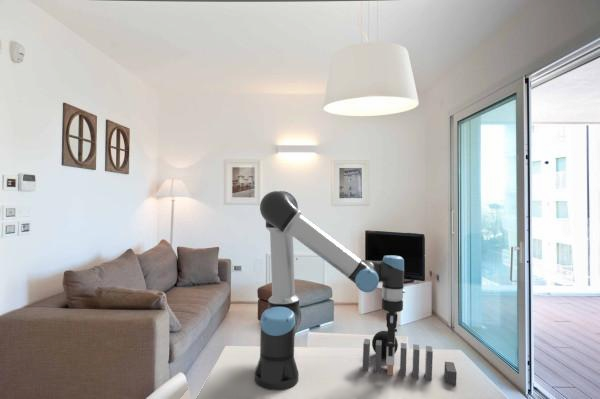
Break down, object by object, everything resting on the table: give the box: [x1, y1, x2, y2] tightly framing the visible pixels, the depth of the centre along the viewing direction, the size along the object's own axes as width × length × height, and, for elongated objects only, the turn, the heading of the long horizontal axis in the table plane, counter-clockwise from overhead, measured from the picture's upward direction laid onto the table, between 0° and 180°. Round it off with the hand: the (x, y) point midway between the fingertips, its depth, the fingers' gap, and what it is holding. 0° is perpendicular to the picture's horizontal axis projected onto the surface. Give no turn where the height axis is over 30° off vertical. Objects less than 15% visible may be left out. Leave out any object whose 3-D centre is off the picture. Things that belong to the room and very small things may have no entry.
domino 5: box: [411, 343, 420, 379], centre depth 142 cm, size 2×5×10 cm, turn 166°
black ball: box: [371, 330, 399, 358], centre depth 157 cm, size 10×10×10 cm
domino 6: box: [424, 345, 434, 381], centre depth 141 cm, size 2×5×10 cm, turn 165°
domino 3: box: [386, 342, 394, 375], centre depth 144 cm, size 2×5×10 cm, turn 166°
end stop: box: [443, 361, 457, 386], centre depth 139 cm, size 3×8×4 cm, turn 166°
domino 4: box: [399, 342, 408, 377], centre depth 143 cm, size 2×5×10 cm, turn 166°
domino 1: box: [362, 338, 371, 372], centre depth 146 cm, size 2×5×10 cm, turn 166°
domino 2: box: [374, 340, 383, 374], centre depth 145 cm, size 2×5×10 cm, turn 166°
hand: (390, 356), depth 144 cm, fingers open, 13 cm apart
